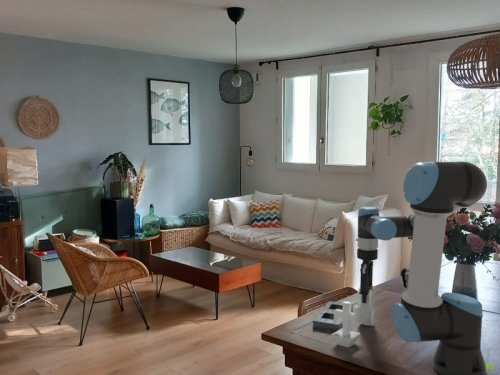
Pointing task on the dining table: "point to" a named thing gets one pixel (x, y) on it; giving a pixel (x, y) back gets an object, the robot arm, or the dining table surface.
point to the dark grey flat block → (329, 317)
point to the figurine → (346, 325)
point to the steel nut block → (368, 316)
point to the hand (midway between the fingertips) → (365, 308)
